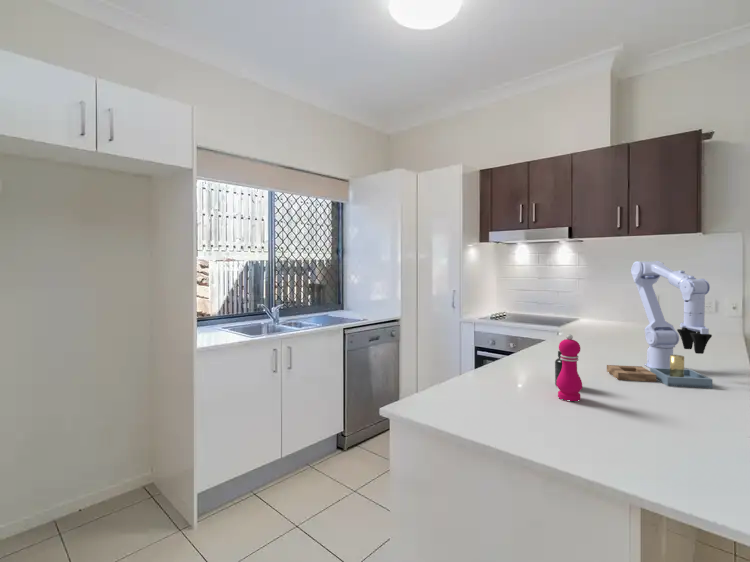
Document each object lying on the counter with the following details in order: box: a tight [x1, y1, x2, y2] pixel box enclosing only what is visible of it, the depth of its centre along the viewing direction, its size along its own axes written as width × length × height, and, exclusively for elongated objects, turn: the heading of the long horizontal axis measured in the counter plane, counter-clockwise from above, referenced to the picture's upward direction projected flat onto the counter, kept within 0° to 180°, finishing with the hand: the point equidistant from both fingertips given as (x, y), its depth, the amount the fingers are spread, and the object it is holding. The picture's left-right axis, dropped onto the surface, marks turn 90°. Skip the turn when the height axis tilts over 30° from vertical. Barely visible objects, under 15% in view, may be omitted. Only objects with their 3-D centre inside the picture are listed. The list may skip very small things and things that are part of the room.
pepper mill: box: [555, 333, 583, 402], centre depth 122 cm, size 7×7×20 cm
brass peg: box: [670, 354, 685, 377], centre depth 139 cm, size 4×4×8 cm
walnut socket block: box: [606, 364, 657, 383], centre depth 146 cm, size 12×12×2 cm
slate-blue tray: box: [649, 368, 713, 389], centre depth 139 cm, size 13×13×3 cm
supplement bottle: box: [554, 350, 562, 387], centre depth 134 cm, size 7×7×12 cm
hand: (693, 351), depth 140 cm, fingers open, 7 cm apart
